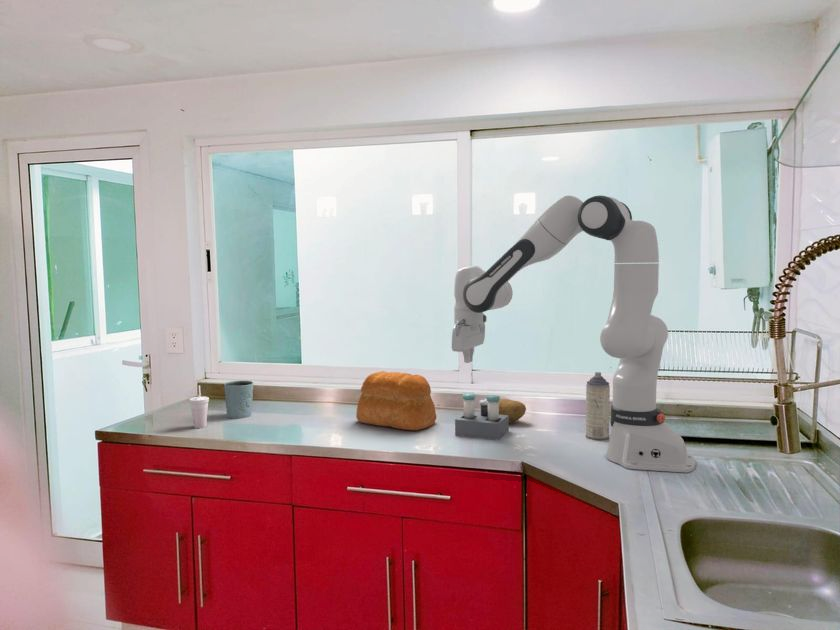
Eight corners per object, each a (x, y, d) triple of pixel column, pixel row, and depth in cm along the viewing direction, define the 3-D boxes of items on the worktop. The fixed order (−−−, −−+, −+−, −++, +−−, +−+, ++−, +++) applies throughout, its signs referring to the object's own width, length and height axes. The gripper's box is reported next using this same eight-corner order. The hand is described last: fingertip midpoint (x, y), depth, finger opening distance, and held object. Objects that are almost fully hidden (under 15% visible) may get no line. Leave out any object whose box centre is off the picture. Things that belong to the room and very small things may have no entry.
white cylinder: (477, 416, 189) (477, 393, 189) (472, 419, 186) (472, 396, 185) (465, 414, 191) (465, 392, 190) (460, 417, 187) (460, 395, 187)
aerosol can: (613, 439, 179) (614, 373, 177) (593, 441, 177) (593, 375, 176) (601, 433, 186) (601, 370, 184) (581, 435, 184) (582, 371, 182)
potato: (520, 428, 193) (520, 404, 192) (480, 423, 200) (480, 399, 199) (530, 421, 201) (530, 398, 201) (491, 416, 208) (491, 394, 208)
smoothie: (213, 424, 203) (211, 383, 202) (205, 429, 196) (203, 387, 195) (195, 424, 203) (193, 383, 202) (186, 429, 197) (184, 387, 196)
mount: (508, 430, 190) (508, 400, 189) (498, 440, 180) (498, 408, 179) (467, 426, 196) (467, 396, 195) (455, 435, 186) (454, 404, 185)
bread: (417, 433, 188) (416, 380, 187) (351, 423, 202) (350, 373, 201) (441, 422, 202) (440, 372, 200) (378, 413, 215) (377, 366, 214)
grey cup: (223, 414, 217) (222, 381, 216) (252, 411, 221) (251, 379, 220) (227, 420, 208) (226, 386, 207) (256, 417, 212) (255, 384, 211)
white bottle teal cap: (501, 418, 186) (501, 395, 185) (497, 421, 182) (497, 398, 182) (489, 417, 187) (489, 394, 187) (485, 420, 184) (484, 397, 183)
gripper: (466, 321, 175) (466, 368, 176) (488, 316, 193) (488, 358, 195) (446, 321, 178) (446, 366, 179) (470, 315, 196) (470, 356, 197)
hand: (468, 362), depth 187 cm, fingers closed
